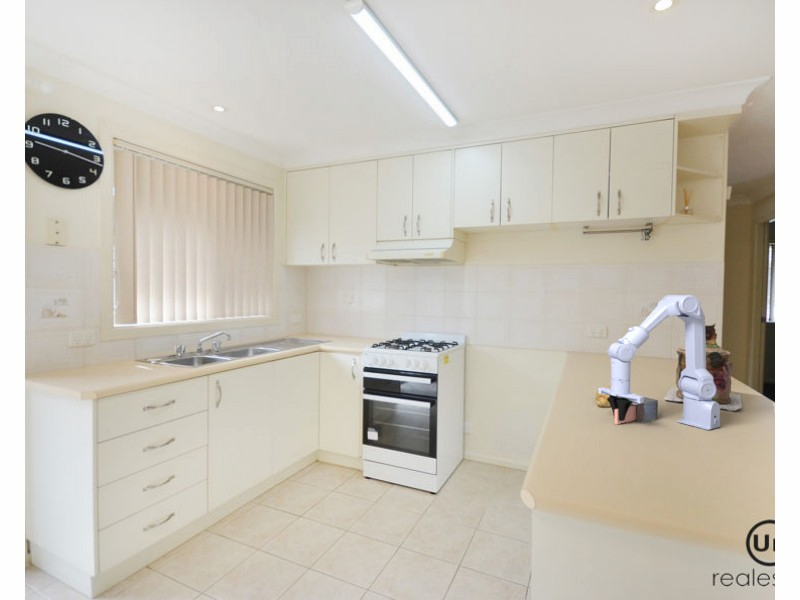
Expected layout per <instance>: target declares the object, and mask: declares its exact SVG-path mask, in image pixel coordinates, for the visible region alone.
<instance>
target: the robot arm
mask: <svg viewBox="0 0 800 600" xmlns="http://www.w3.org/2000/svg"><path fill="white" fill-rule="evenodd" d="M701 304H702V302H701V299H699V298H697V297H696V296H694V295H692V294H667V295H665V296H664V297H663V298H662V299H661V300H659V301H658V303H657V305H656V307H655V308H654V309H653V310H652V312H651V313H649V314H648V316H647V317H646V318H645V319H644V321H642V322H641V324H640V325H637V326H636V325H634V326H632V327H629V328H628V329H627V330H628V332H626V334H624V335H623V336H622V337H621V338H620V337H619V338H618V340H617V342H613V343H612V344H611V345H610V346H609V348H608V349H607V355H608V356H609V358H610V386H611V389H609V388H603V386H602V387H598V390H597V391H598V393H599V394H606V395H610V397H608V398H607V400H608V402H609V404H610V406H611V410H612V414H613V419H615V409H619V420H620V421H623V420H625V417H626V414H627V411H628V409H629V407H630V406H631V404H632V403H633V401H634V402H637V403H644V397H645V396H642V395H638V394H635V393H633V392H631V366H632V365H631V364H632V363H631V362H632V360H634V358H635V357H636V352H637V351H638V349H639V348H640V347H641V346H643V344H644V343H645V342H646V341H648V339H649V338H650V333H651V332H652V331H653V330H654V329H655V328H657V326H659V325H660V324H661V323H662V322H663V321H665V319H667V318H668V317H669V318H670V317H677V318H679V319H680V320H681V321H682V322H683V323H684V338H685V339H684V341H685V342H684V344H685V345H684V346H685V352H686V368H685V369H684V370H683V371H682V372H681V378H680V380H679V383H678V385H679V388H680V390H681V391H682V395H683V402H682V403H683V404H682V406H683V407H682V408H683V410H682V418H681V419H678V420H677V421H676V422H677V423H681V424H684V425H688V426H691V427H696V428H698V429H703V430H706V431H711V430H713V429H718V428H720V427H721V423H720V420H721V417H720V416H721V414H720V413H721V409H720V406H719V403H717V402H715V401H712V398H713V397H714V396H715V394H716V386H715V384H714V381H713V376H712V375H711V374H710V373H709V372H708V371H707V370H706V340H705V325H706V316H705V313H704V312H703V309H702V305H701Z"/></svg>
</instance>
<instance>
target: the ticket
mask: <svg viewBox="0 0 800 600" xmlns="http://www.w3.org/2000/svg"><path fill="white" fill-rule="evenodd" d="M613 419H614V418H613ZM613 421H614V423H613V424H615V425H617V424H618V425H621V423H622V424H625V422H626V423H629V422H634V421H637V405H633V406H630V407H629V409H628V411H627V414H626V417H625V420H623V421H620V420H619V409H615V419H614V420H613Z"/></svg>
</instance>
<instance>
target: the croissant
mask: <svg viewBox="0 0 800 600" xmlns="http://www.w3.org/2000/svg"><path fill="white" fill-rule="evenodd" d="M602 387H603V386H602ZM603 388H609V389H611V385H610V386H609V385H607V386H604V387H603ZM608 397H610V395H606V394H599V393H598V390H597V391H595V400H596V405H597V406H599V407H601V408H605V407H606V408H608V407H609V408H610V404H609V402H608V400H607V398H608Z"/></svg>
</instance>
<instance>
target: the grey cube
mask: <svg viewBox="0 0 800 600" xmlns="http://www.w3.org/2000/svg"><path fill="white" fill-rule="evenodd" d="M643 397H644V403H637V402H634V401H633V403H632V404H631V406H633V405H637V420H636V422H638V421H640V422H639V423H642V422H643V423H642V424H646V423H649V422H648V421H650V422H653V421H652V420H654V421H657V420H658V407H659V404H658V403H659V400H658V399H654V398H649V397H647V396H643ZM656 419H657V420H656ZM645 422H646V423H645Z"/></svg>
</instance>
